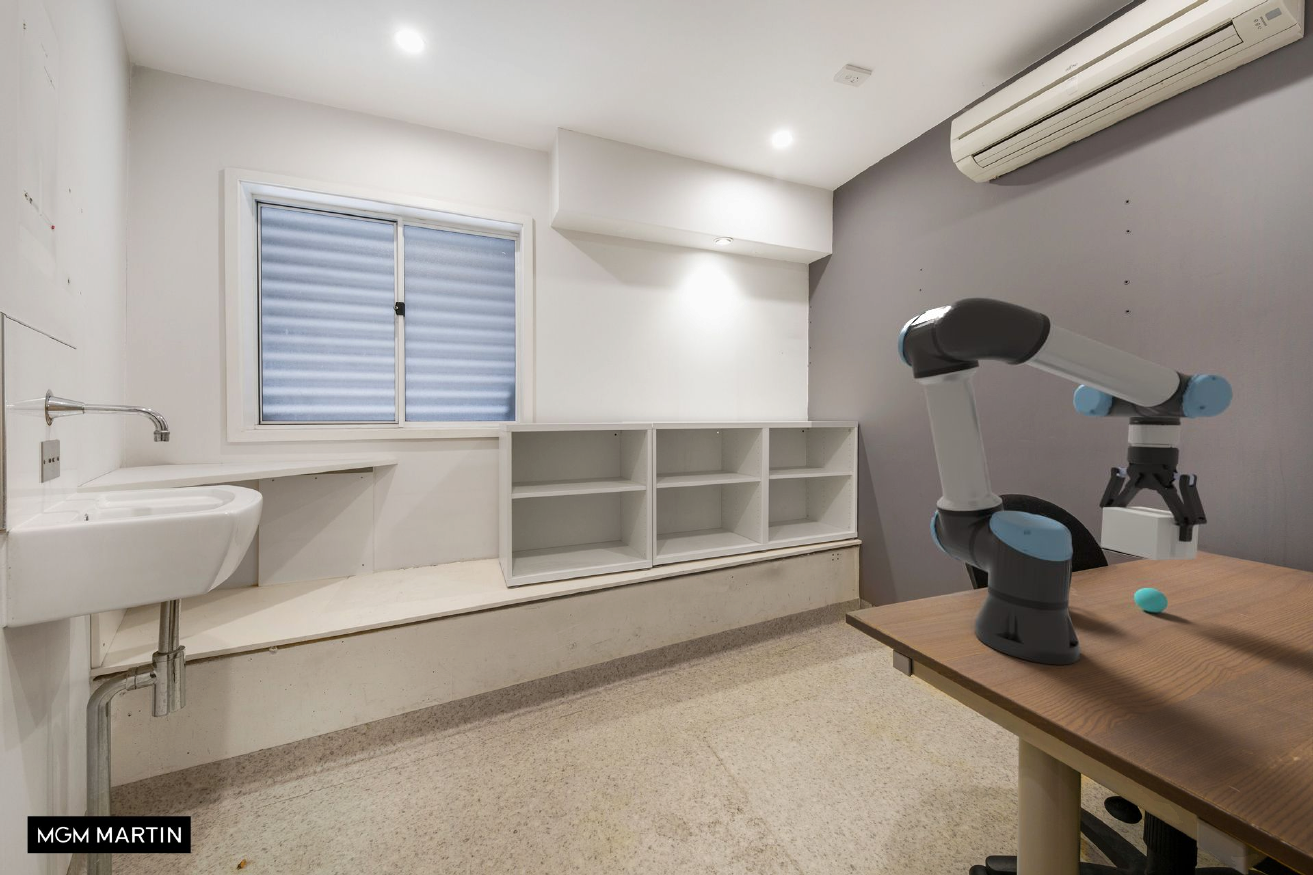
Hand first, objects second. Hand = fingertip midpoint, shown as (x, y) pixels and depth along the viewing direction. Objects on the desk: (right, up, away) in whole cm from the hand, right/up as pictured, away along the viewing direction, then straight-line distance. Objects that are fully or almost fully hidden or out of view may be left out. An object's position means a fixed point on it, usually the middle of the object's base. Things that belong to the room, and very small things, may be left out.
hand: (1146, 548), depth 101 cm
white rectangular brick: (0, -1, 0) cm, 1 cm away
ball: (+2, -11, +1) cm, 11 cm away
